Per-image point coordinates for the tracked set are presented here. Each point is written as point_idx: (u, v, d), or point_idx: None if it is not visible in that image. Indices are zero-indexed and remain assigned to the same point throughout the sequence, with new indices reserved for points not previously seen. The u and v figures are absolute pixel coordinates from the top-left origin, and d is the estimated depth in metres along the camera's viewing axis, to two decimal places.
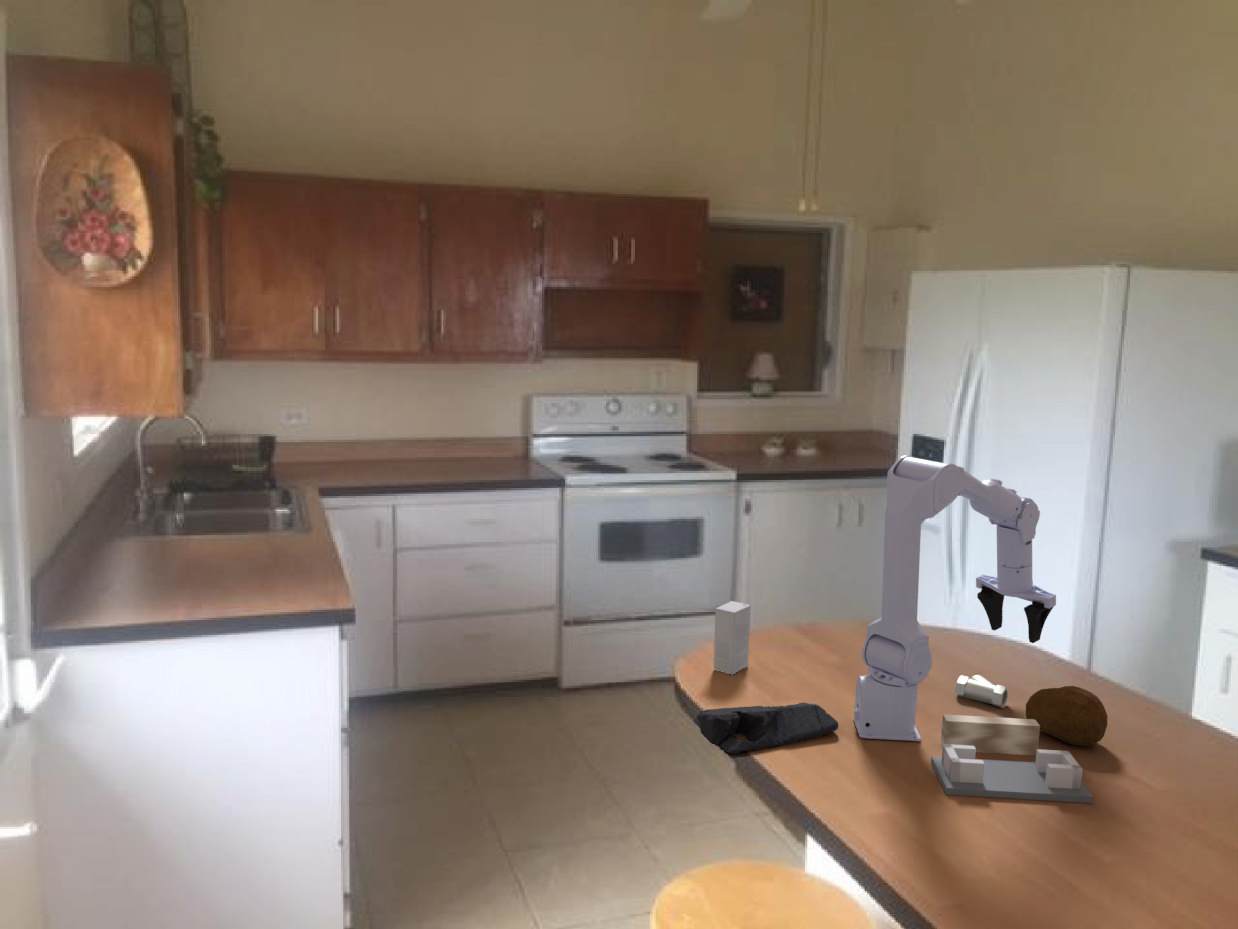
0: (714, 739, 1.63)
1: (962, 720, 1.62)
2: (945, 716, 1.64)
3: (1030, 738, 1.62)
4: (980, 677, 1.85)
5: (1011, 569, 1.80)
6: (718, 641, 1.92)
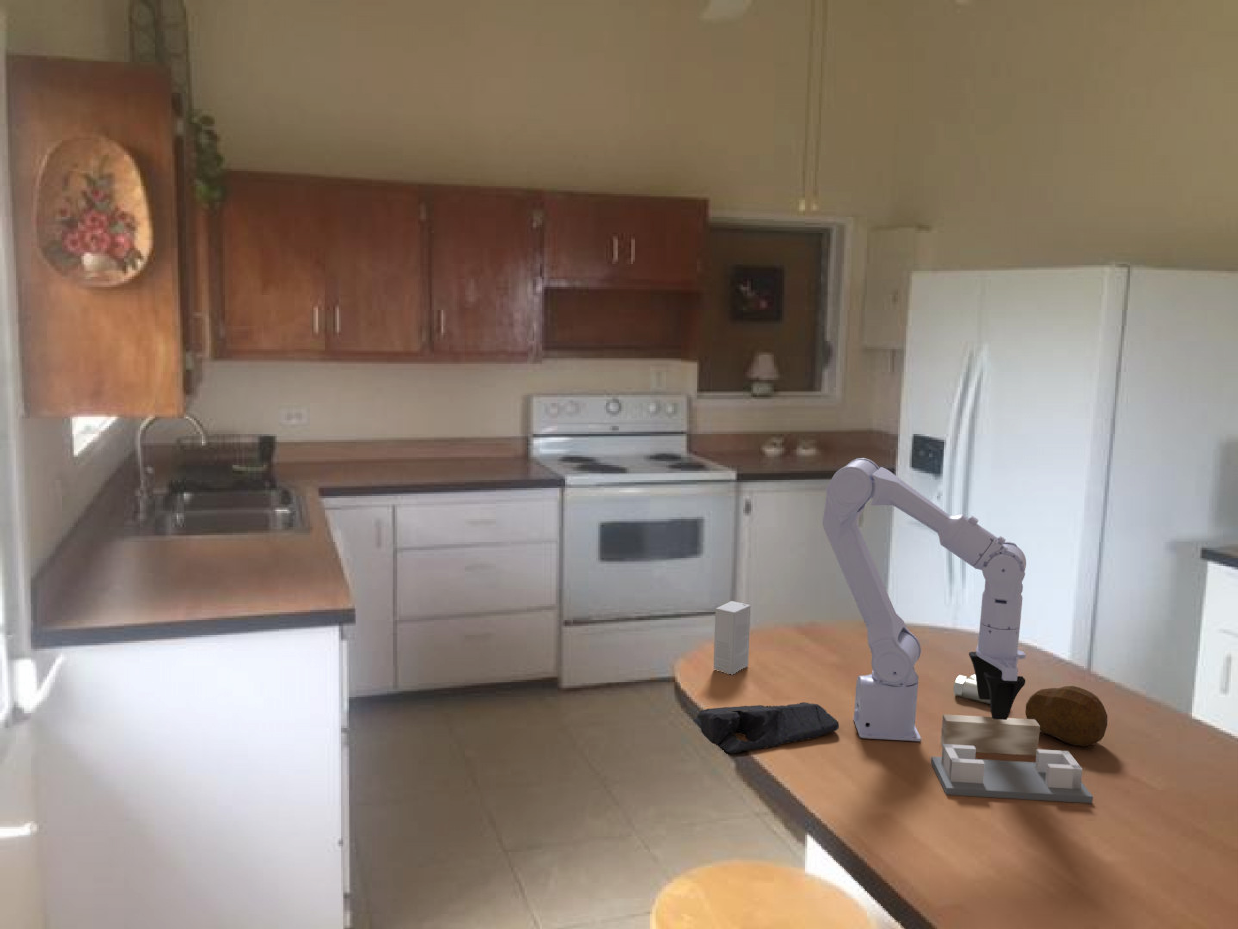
0: (714, 738, 1.63)
1: (962, 720, 1.62)
2: (945, 716, 1.64)
3: (1030, 738, 1.62)
4: None
5: (984, 627, 1.59)
6: (717, 641, 1.92)
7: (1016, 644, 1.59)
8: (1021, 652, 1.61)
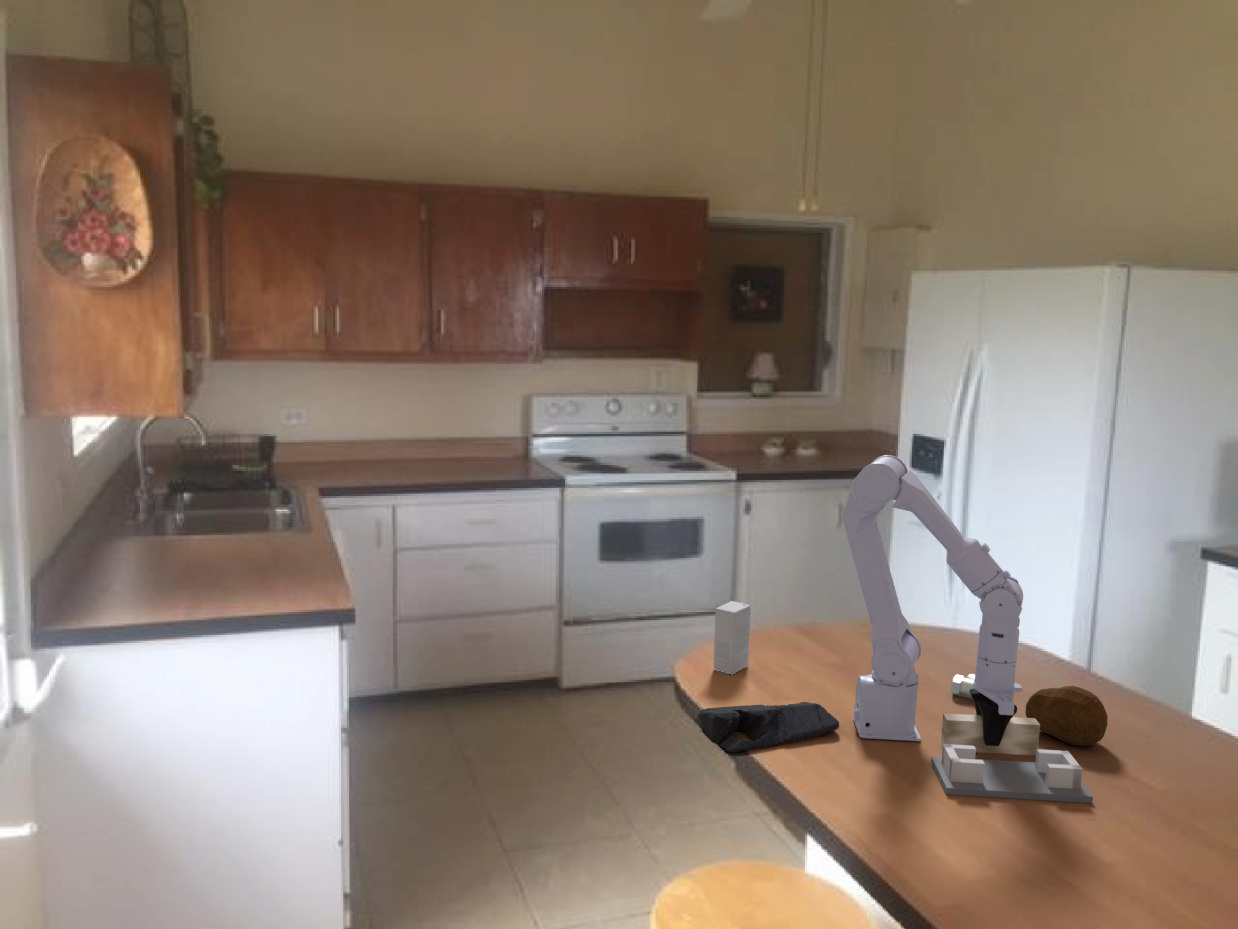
0: (714, 737, 1.63)
1: (962, 719, 1.62)
2: (945, 715, 1.64)
3: (1030, 737, 1.62)
4: None
5: (981, 660, 1.60)
6: (718, 641, 1.92)
7: (1013, 677, 1.60)
8: (1018, 685, 1.62)
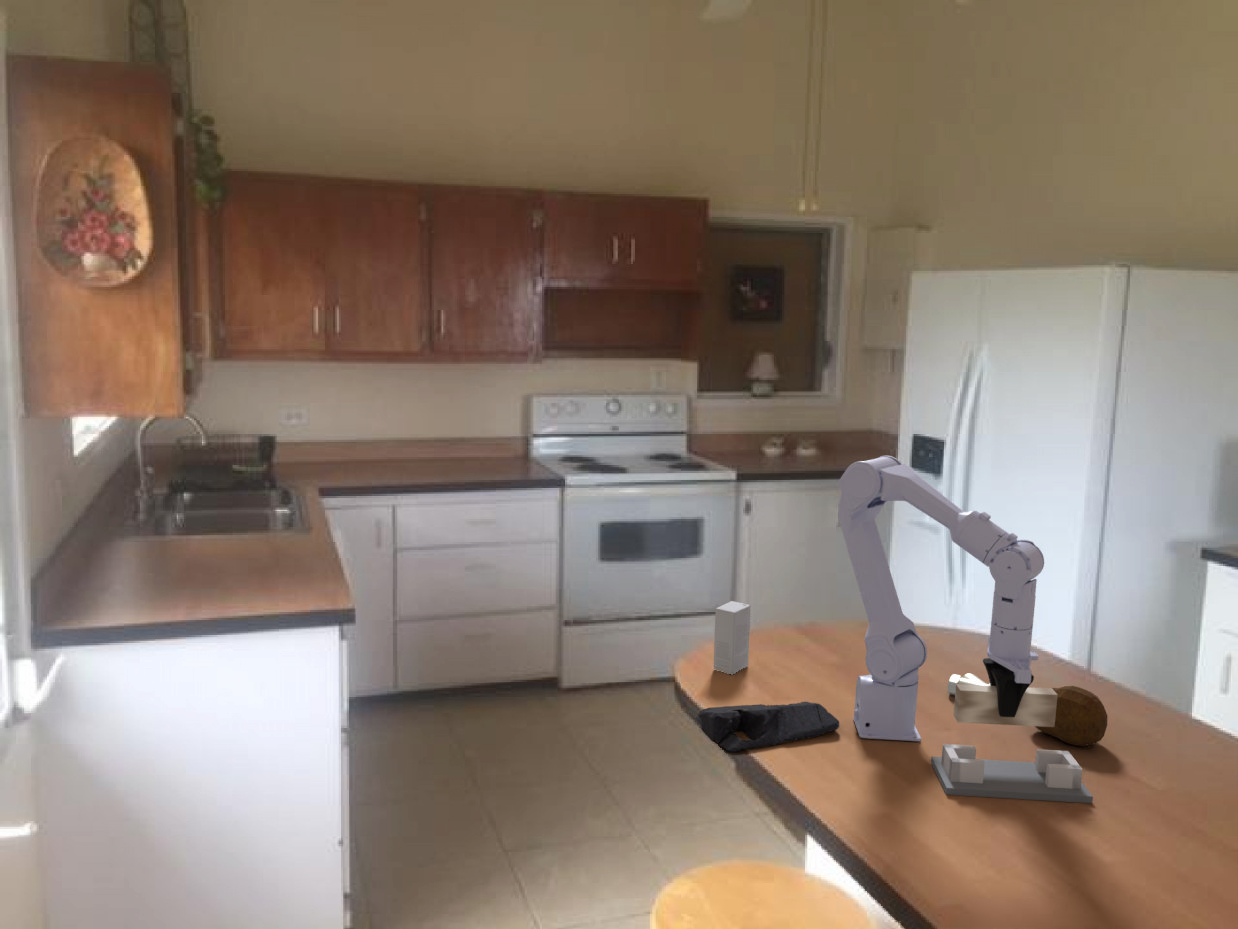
0: (714, 737, 1.63)
1: (976, 689, 1.56)
2: (958, 686, 1.57)
3: (1047, 708, 1.55)
4: (972, 676, 1.86)
5: (996, 627, 1.53)
6: (718, 641, 1.92)
7: (1029, 645, 1.53)
8: (1034, 653, 1.55)
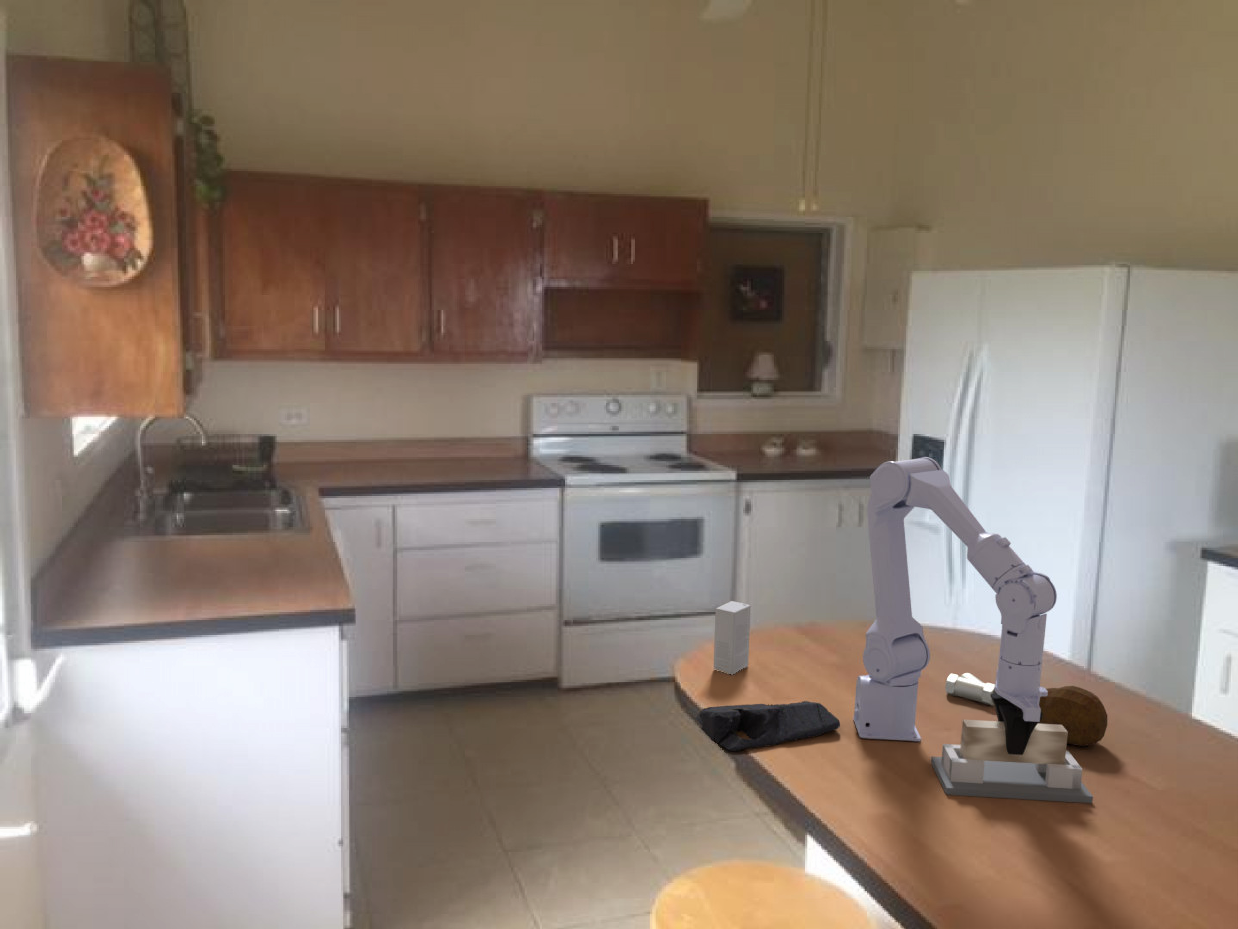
0: (715, 736, 1.64)
1: (984, 726, 1.51)
2: (965, 721, 1.52)
3: (1057, 745, 1.50)
4: (970, 675, 1.86)
5: (1004, 662, 1.49)
6: (718, 641, 1.92)
7: (1038, 681, 1.48)
8: (1043, 689, 1.50)
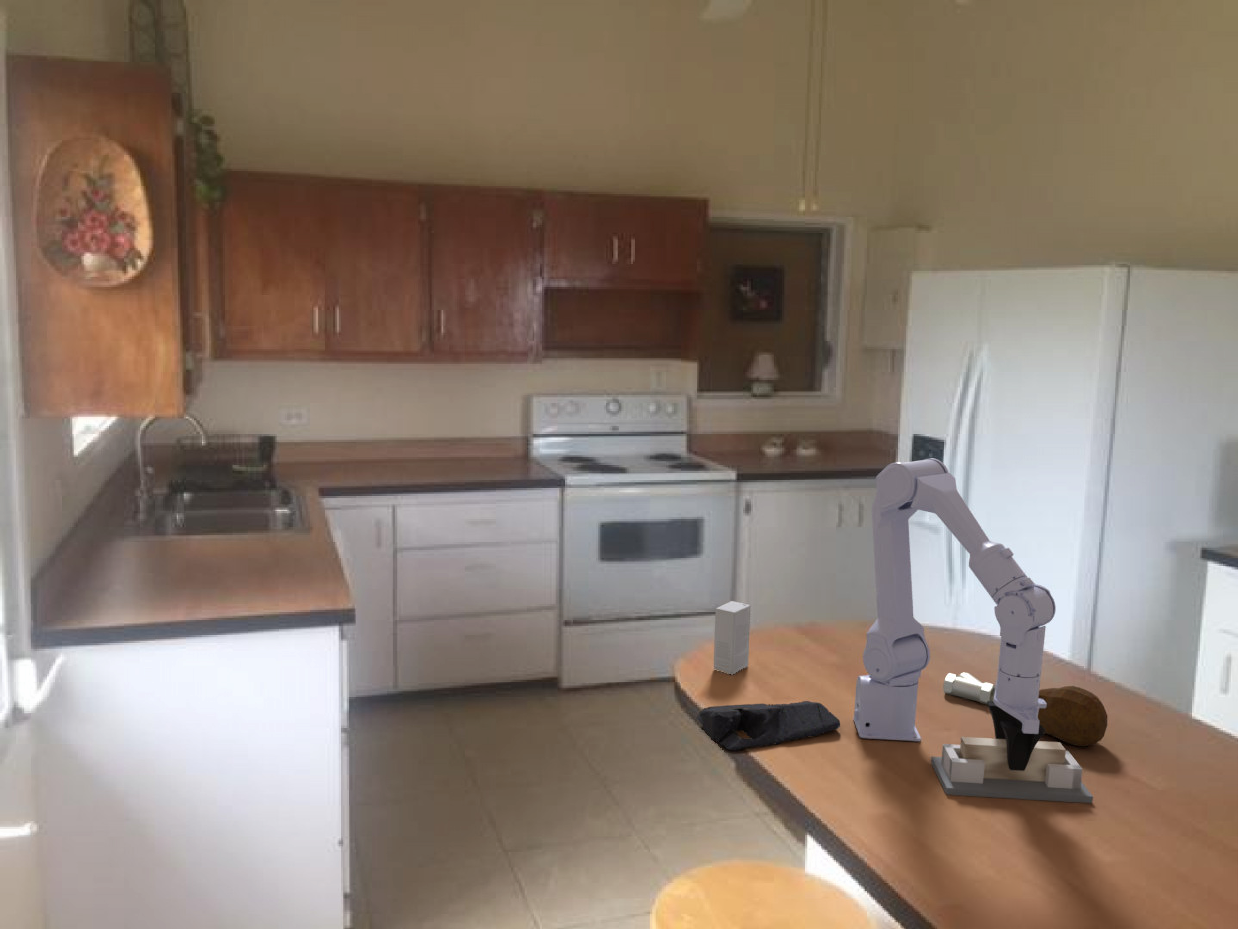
0: (715, 736, 1.64)
1: (982, 743, 1.52)
2: (963, 739, 1.53)
3: (1055, 763, 1.51)
4: (967, 675, 1.86)
5: (1003, 674, 1.49)
6: (718, 641, 1.92)
7: (1037, 693, 1.48)
8: (1042, 701, 1.51)
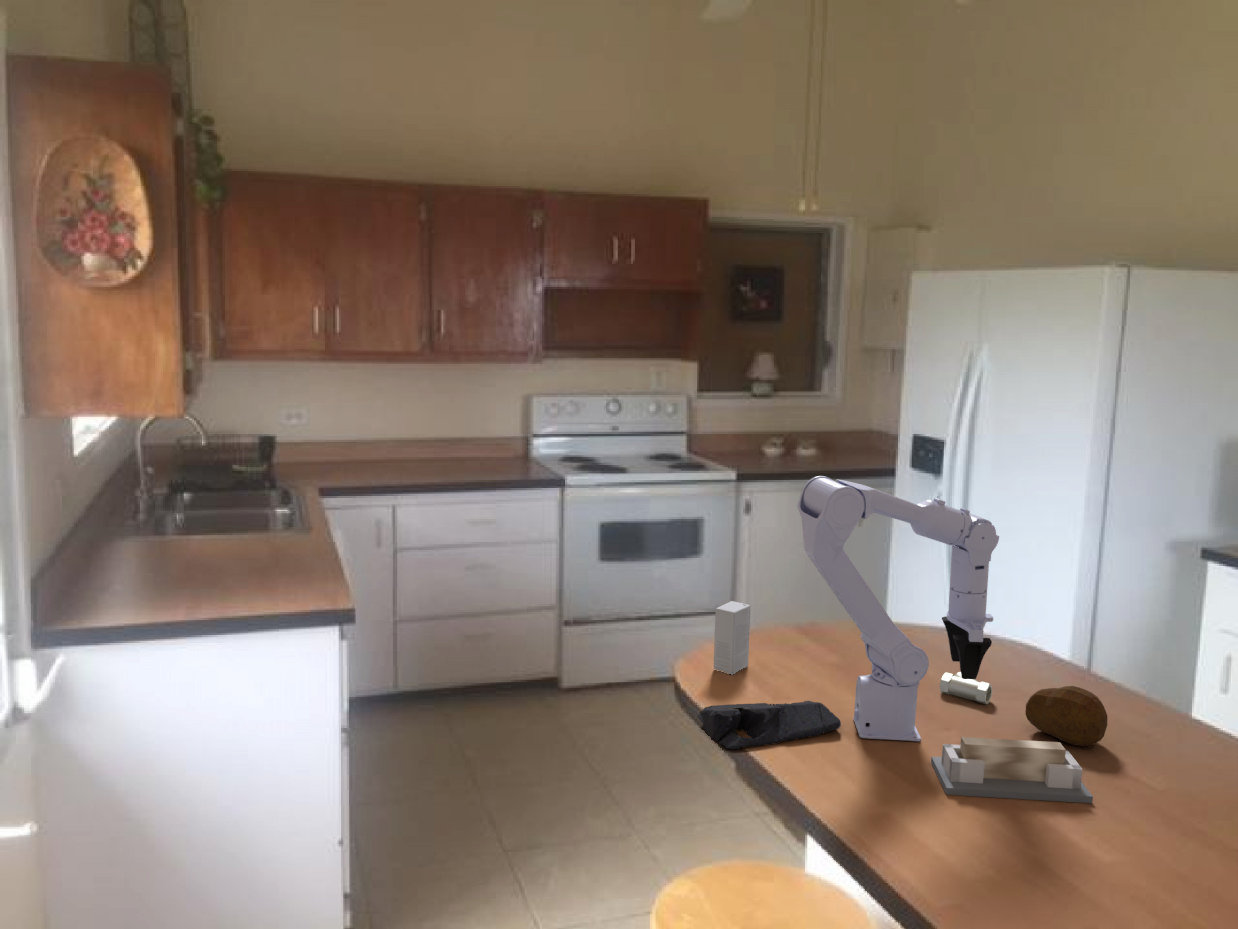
0: (715, 735, 1.64)
1: (982, 743, 1.52)
2: (963, 739, 1.53)
3: (1055, 763, 1.51)
4: None
5: (953, 592, 1.68)
6: (718, 641, 1.92)
7: (983, 608, 1.67)
8: (989, 615, 1.69)
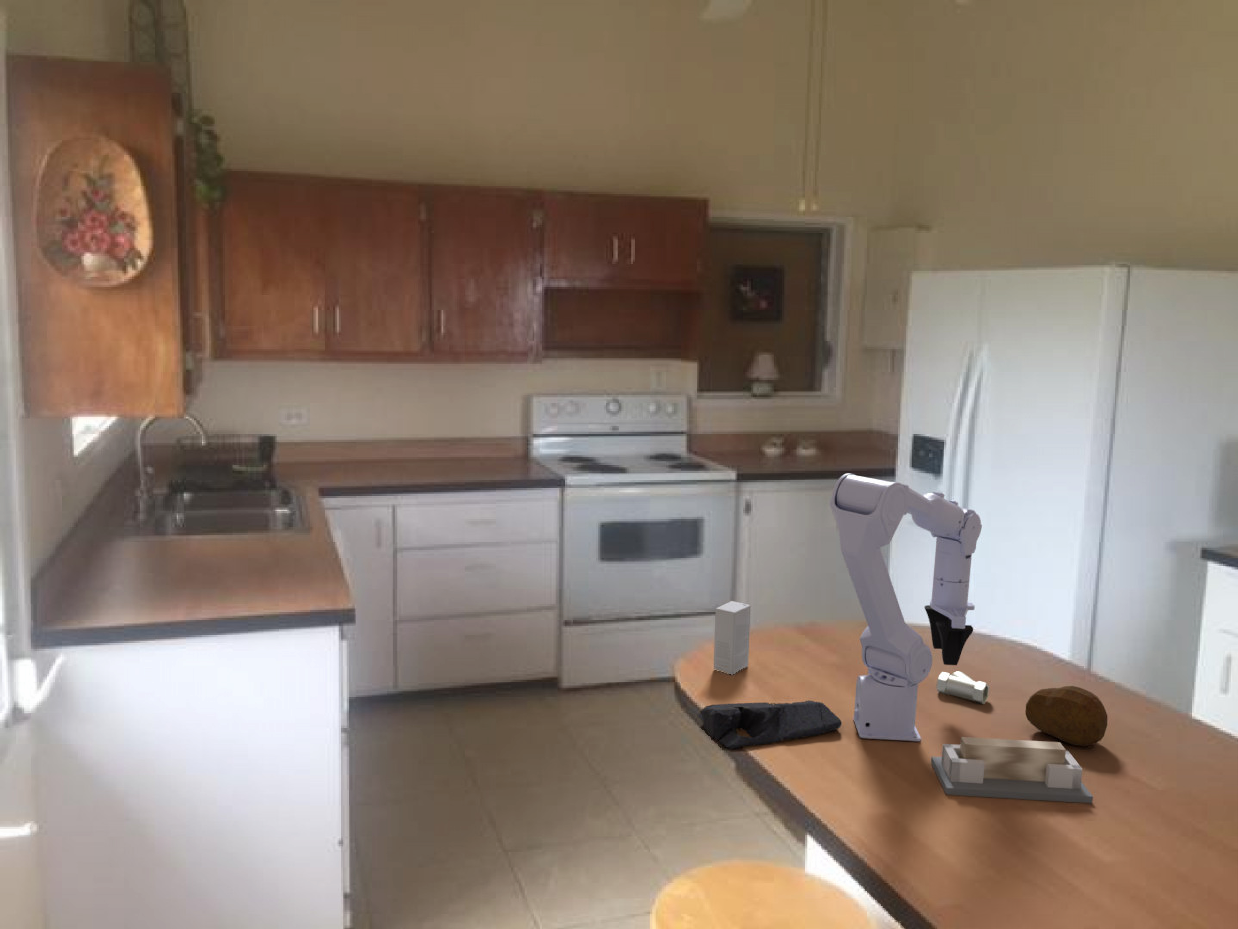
0: (714, 733, 1.65)
1: (982, 743, 1.52)
2: (963, 739, 1.53)
3: (1055, 763, 1.51)
4: (961, 673, 1.87)
5: (937, 580, 1.74)
6: (718, 641, 1.92)
7: (966, 596, 1.73)
8: (971, 604, 1.75)
